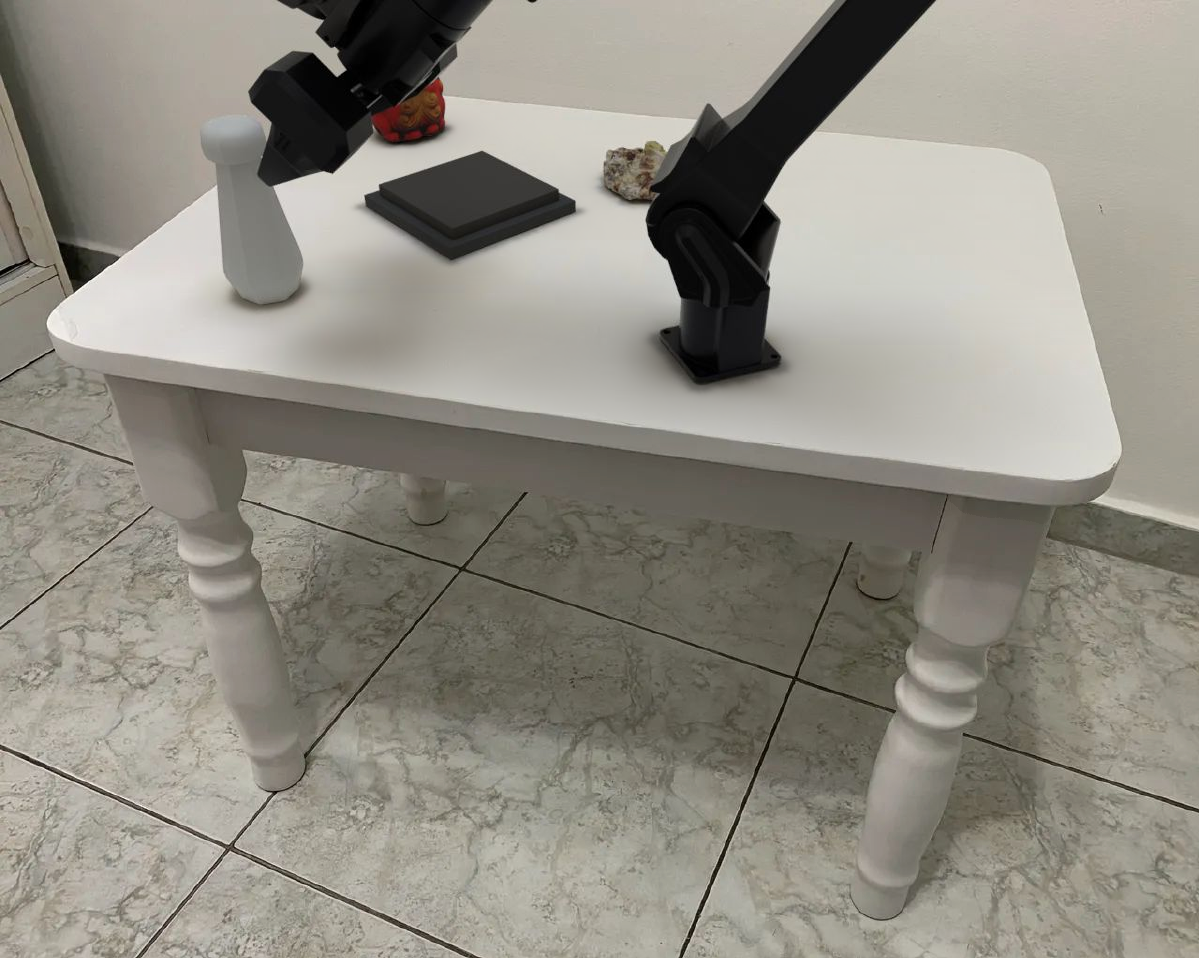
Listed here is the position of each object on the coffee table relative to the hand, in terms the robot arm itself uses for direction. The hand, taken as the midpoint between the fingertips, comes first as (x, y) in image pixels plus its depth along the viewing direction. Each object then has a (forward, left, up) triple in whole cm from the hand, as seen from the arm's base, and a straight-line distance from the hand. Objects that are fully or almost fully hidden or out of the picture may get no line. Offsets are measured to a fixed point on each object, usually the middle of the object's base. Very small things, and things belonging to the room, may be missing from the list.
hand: (297, 152), depth 68 cm
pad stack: (+11, -14, -11) cm, 21 cm away
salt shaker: (+3, +4, -11) cm, 12 cm away
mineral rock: (+9, -31, -11) cm, 34 cm away
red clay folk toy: (+30, -13, -11) cm, 34 cm away
